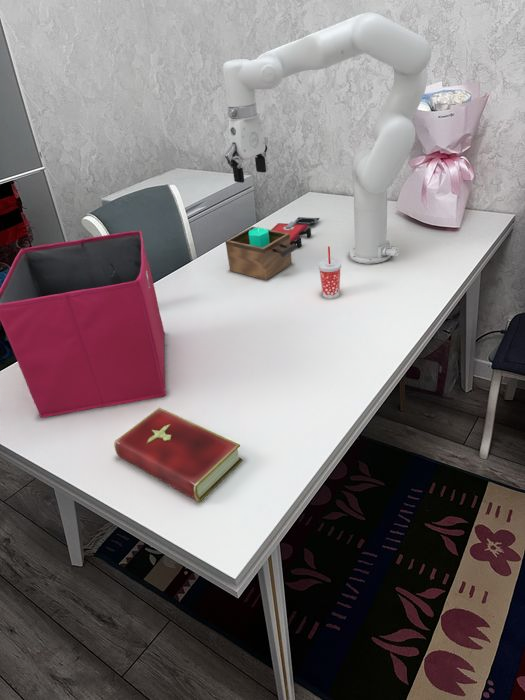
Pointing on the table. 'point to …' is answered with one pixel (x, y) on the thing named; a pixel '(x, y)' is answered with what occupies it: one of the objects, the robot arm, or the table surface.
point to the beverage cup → (330, 277)
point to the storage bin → (85, 323)
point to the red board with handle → (296, 229)
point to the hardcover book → (179, 453)
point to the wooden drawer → (259, 254)
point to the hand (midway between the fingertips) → (250, 176)
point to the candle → (259, 237)
